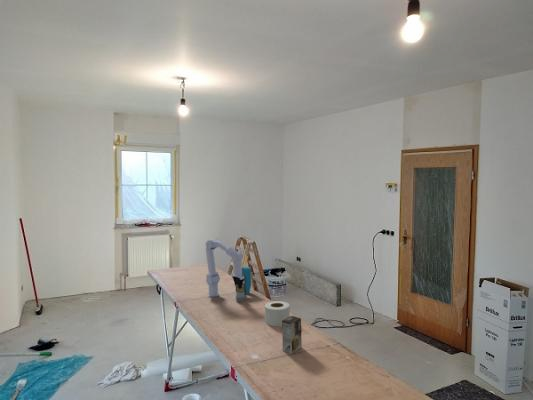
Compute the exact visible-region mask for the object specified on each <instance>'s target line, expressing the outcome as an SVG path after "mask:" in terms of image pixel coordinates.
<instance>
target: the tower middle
mask: <svg viewBox="0 0 533 400" xmlns="http://www.w3.org/2000/svg"><path fill="white" fill-rule="evenodd" d="M235 293H236V294H235V298H236V297H246V294H245V292H241V293H238V292H236V291H235Z"/></svg>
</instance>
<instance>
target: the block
mask: <svg viewBox="0 0 533 400" xmlns="http://www.w3.org/2000/svg"><path fill="white" fill-rule="evenodd" d="M251 270H252V267H250V266H245V267H243V266H242V277H243V279H244V281H243V285H244V291H245V295H248V294H250V292H251V291H250V290H251V289H252V288H251V286H252V271H251Z"/></svg>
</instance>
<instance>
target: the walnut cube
mask: <svg viewBox="0 0 533 400" xmlns="http://www.w3.org/2000/svg"><path fill="white" fill-rule="evenodd" d="M234 286H235V293H236V292H238V293H241V292H245V291H244V285H243V284H242V288H240V289H239V288H238V284H236V285H235V284H234Z"/></svg>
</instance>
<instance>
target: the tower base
mask: <svg viewBox="0 0 533 400" xmlns="http://www.w3.org/2000/svg"><path fill="white" fill-rule="evenodd" d="M245 297H246V296H245ZM245 297H236V296H235V301H236V303H243V302H246V301H245Z"/></svg>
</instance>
